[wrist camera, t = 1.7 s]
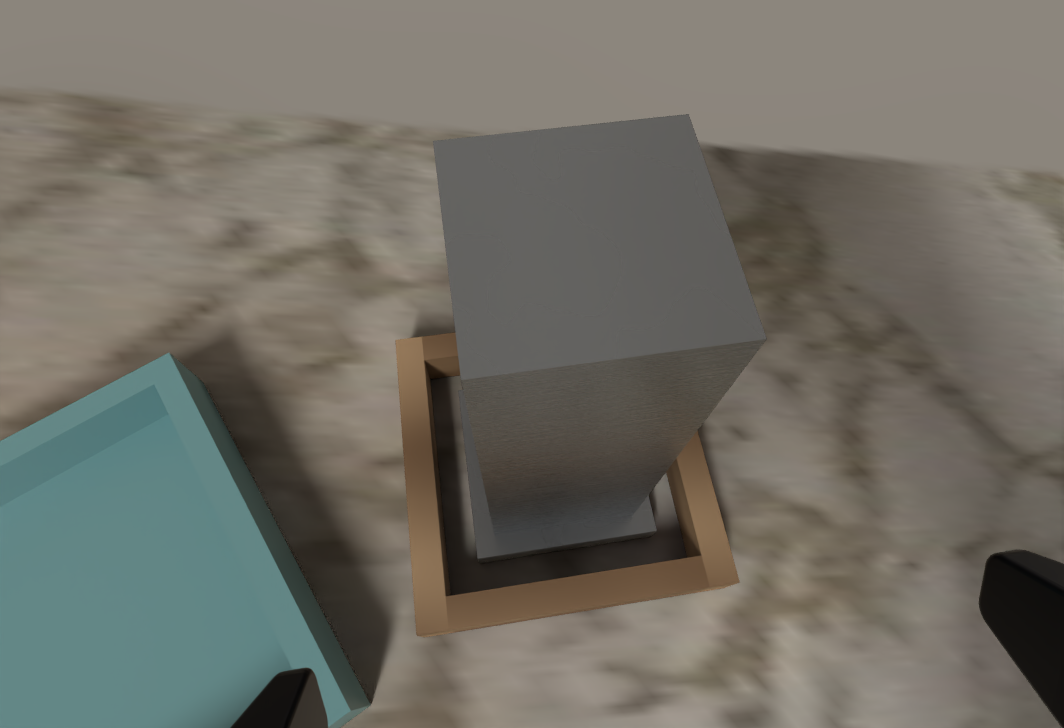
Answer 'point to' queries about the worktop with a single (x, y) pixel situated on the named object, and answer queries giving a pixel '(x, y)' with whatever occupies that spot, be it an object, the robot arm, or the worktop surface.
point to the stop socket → (511, 604)
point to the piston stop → (586, 323)
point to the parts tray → (148, 569)
